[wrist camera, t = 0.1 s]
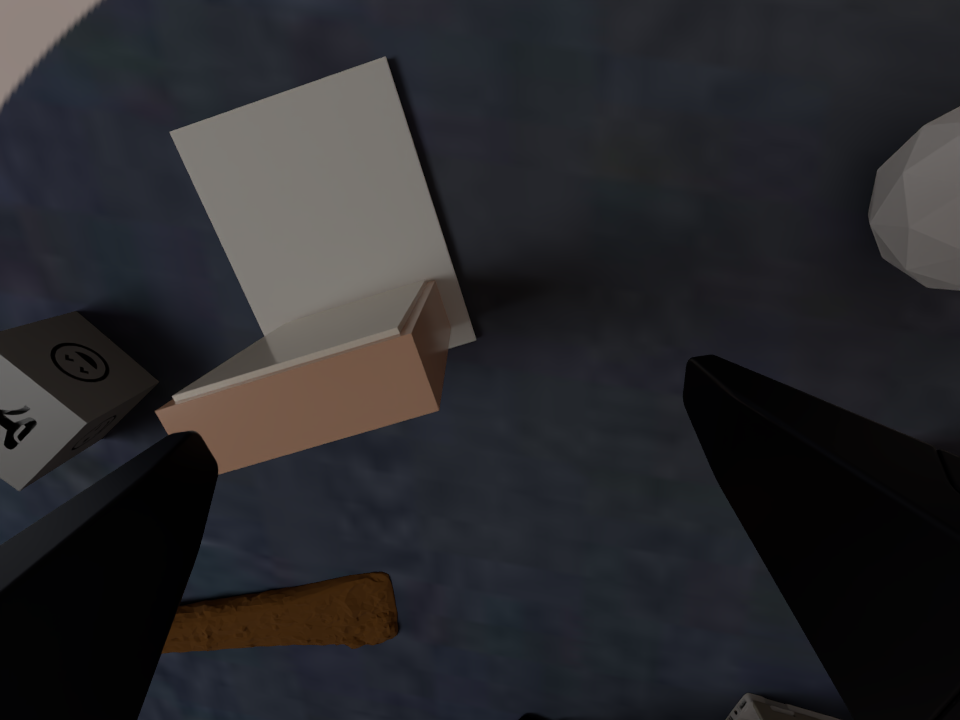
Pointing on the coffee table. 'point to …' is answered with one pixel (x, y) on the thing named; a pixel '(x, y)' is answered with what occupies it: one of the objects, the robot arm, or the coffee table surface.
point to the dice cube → (60, 393)
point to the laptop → (771, 710)
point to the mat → (322, 198)
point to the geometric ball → (922, 205)
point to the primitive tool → (291, 617)
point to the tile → (321, 379)
